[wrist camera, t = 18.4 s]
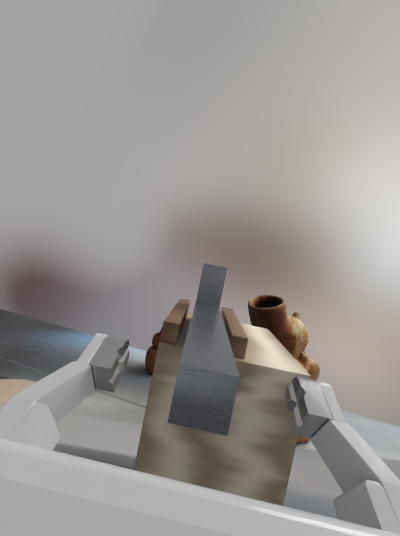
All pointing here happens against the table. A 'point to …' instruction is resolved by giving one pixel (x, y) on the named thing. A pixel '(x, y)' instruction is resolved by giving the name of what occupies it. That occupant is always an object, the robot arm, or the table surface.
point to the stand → (242, 421)
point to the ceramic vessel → (283, 331)
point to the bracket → (206, 364)
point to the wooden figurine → (152, 353)
